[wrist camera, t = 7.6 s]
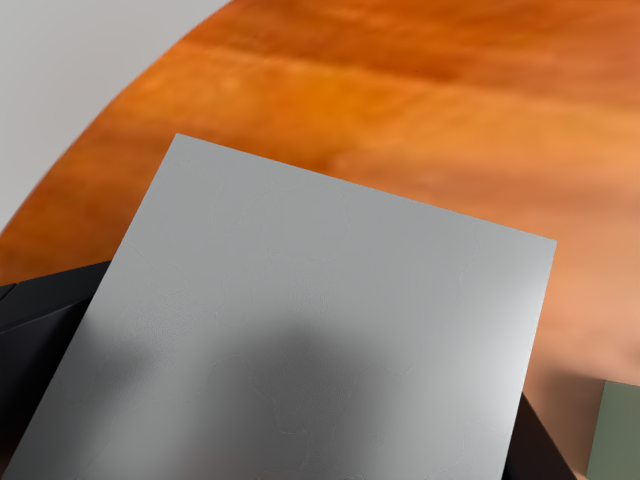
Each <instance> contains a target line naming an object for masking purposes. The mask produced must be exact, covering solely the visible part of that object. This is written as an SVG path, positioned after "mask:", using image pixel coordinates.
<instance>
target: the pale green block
mask: <svg viewBox="0 0 640 480" xmlns="http://www.w3.org/2000/svg"><path fill="white" fill-rule="evenodd" d="M586 478H588V479H589V480H640V387H639V386H634V385H629V384H623V383H618V382H612V381H607V380H605V384H604V389H603V394H602V399H601V404H600V409H599V414H598V419H597V424H596V429H595V434H594V439H593V444H592V449H591V454H590V458H589V463H588V468H587V473H586Z"/></svg>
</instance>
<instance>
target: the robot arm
mask: <svg viewBox="0 0 640 480" xmlns="http://www.w3.org/2000/svg"><path fill="white" fill-rule="evenodd" d="M111 262H112V260H110V261H105V262H101V263H97V264H93V265H89V266H85V267H80V268H76V269H72V270H68V271H64V272H59V273H55V274H51V275H47V276H43V277H38V278H34V279H30V280H26V281H22V282H19V283H18V284H17V283H13V284H9V285H5V286H0V480H1V479H2V477H3V475H4V473H5V471H6V469H7V467H8V465H9V463H10V461H11V459H12V457H13V455H14V453H15V451H16V449H17V447H18V445H19V443H20V441H21V439H22V437H23V435H24V433H25V431H26V429H27V427H28V425H29V423H30V421H31V419H32V417H33V415H34V413H35V411H36V410H37V408H38V406H39V404H40V402H41V400H42V398H43V396H44V394H45V392H46V390H47V388H48V386H49V384H50V382H51V380H52V378H53V376H54V374H55V372H56V370H57V368H58V366H59V364H60V362H61V360H62V358H63V356H64V354H65V352H66V350H67V348H68V346H69V344H70V342H71V341H72V339H73V337H74V335H75V333H76V331H77V329H78V327H79V325H80V323H81V321H82V319H83V317H84V315H85V313H86V311H87V309H88V307H89V305H90V303H91V301H92V299H93V297H94V295H95V293H96V291H97V289H98V287H99V285H100V283H101V281H102V279H103V277H104V275H105V273H106V272H107V270H108V268H109V266H110V264H111ZM501 480H578V479H577V478H576V476H575V475H574V473H573V471H572V470H571V468H570V467H569V465H568V463H567V462H566V460H565V459H564V457H563V455H562V454H561V452H560V451H559V449H558V447H557V446H556V444H555V443H554V441H553V440H552V438H551V436H550V435H549V433H548V432H547V430H546V428H545V427H544V425H543V424H542V422H541V420H540V419H539V417H538V416H537V414H536V412H535V411H534V409H533V408H532V406H531V404H530V403H529V401H528V400H527V398H526V397H525V395H524V393H523V392H522V393H521V397H520V401H519V406H518V410H517V414H516V418H515V422H514V427H513V431H512V435H511V439H510V444H509V448H508V452H507V456H506V461H505V465H504V469H503V473H502V478H501Z"/></svg>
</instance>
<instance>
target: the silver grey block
mask: <svg viewBox="0 0 640 480" xmlns="http://www.w3.org/2000/svg"><path fill="white" fill-rule="evenodd" d="M556 245H557V241H556V240H552V239H549V238H545V237H542V236H538V235H535V234H531V233H528V232H524V231H521V230H517V229H514V228H510V227H507V226H503V225H499V224H496V223H492V222H489V221H485V220H482V219H478V218H475V217H471V216H468V215H464V214H461V213H457V212H454V211H450V210H447V209H443V208H440V207H436V206H432V205H429V204H425V203H422V202H418V201H415V200H411V199H408V198H404V197H401V196H397V195H394V194H390V193H387V192H383V191H380V190H376V189H373V188H369V187H365V186H362V185H358V184H355V183H351V182H348V181H344V180H341V179H337V178H334V177H330V176H327V175H323V174H320V173H316V172H313V171H309V170H306V169H302V168H298V167H295V166H291V165H288V164H284V163H281V162H277V161H274V160H270V159H267V158H263V157H260V156H256V155H253V154H249V153H246V152H242V151H239V150H235V149H232V148H228V147H224V146H221V145H217V144H214V143H210V142H207V141H203V140H200V139H196V138H193V137H189V136H186V135H182V134H179V133H177V134H176V136H175V137H174V139H173V141H172V143H171V145H170V147H169V149H168V151H167V153H166V155H165V157H164V159H163V161H162V163H161V165H160V167H159V169H158V171H157V173H156V175H155V177H154V179H153V181H152V183H151V185H150V187H149V189H148V191H147V193H146V195H145V197H144V199H143V201H142V203H141V205H140V206H139V208H138V210H137V212H136V214H135V216H134V218H133V220H132V222H131V224H130V226H129V228H128V230H127V232H126V234H125V236H124V238H123V240H122V242H121V244H120V246H119V248H118V250H117V252H116V254H115V256H114V258H113V260H112V262H111V264H110V266H109V268H108V270H107V272H106V273H105V275H104V277H103V279H102V281H101V283H100V285H99V287H98V289H97V291H96V293H95V295H94V297H93V299H92V301H91V303H90V305H89V307H88V309H87V311H86V313H85V315H84V317H83V319H82V321H81V323H80V325H79V327H78V329H77V331H76V333H75V335H74V337H73V339H72V341H71V342H70V344H69V346H68V348H67V350H66V352H65V354H64V356H63V358H62V360H61V362H60V364H59V366H58V368H57V370H56V372H55V374H54V376H53V378H52V380H51V382H50V384H49V386H48V388H47V390H46V392H45V394H44V396H43V398H42V400H41V402H40V404H39V406H38V408H37V410H36V411H35V413H34V415H33V417H32V419H31V421H30V423H29V425H28V427H27V429H26V431H25V433H24V435H23V437H22V439H21V441H20V443H19V445H18V447H17V449H16V451H15V453H14V455H13V457H12V459H11V461H10V463H9V465H8V467H7V469H6V471H5V473H4V475H3V477H2V479H1V480H501V478H502V473H503V469H504V465H505V461H506V456H507V452H508V448H509V444H510V439H511V435H512V431H513V427H514V422H515V418H516V414H517V410H518V406H519V401H520V397H521V393H522V389H523V384H524V380H525V376H526V372H527V367H528V363H529V359H530V355H531V350H532V346H533V342H534V338H535V334H536V329H537V325H538V321H539V317H540V312H541V308H542V304H543V300H544V295H545V291H546V287H547V283H548V278H549V274H550V270H551V266H552V261H553V257H554V253H555V249H556Z"/></svg>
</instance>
